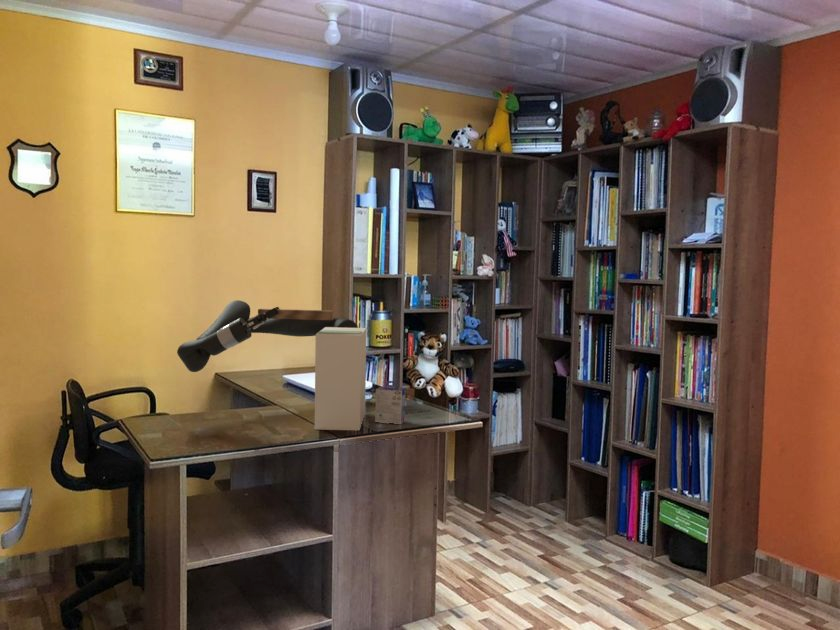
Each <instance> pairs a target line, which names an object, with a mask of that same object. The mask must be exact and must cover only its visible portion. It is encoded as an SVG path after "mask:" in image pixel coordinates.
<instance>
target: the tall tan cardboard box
mask: <svg viewBox="0 0 840 630" xmlns="http://www.w3.org/2000/svg"><path fill="white" fill-rule="evenodd" d="M314 349H315V350H314V353H315V356H314V359H315V361H314V362H315V364H314V368H315V369H314V380H315V381H314V430H320V431H321V430H322V431H323V430H324V431H325V430H327V431H360V429H361V427H362V425H361V424H363V422H362V421H364V419H365V416H364V415H366V384H367V383H366V377H367V376H366V375H367V374H366V373H367V327H358V328H339V327H325V328H324V329H322V330H321V331H319V332H318V333H317V334H316V336H315V348H314ZM363 418H364V419H363Z"/></svg>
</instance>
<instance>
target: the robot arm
mask: <svg viewBox="0 0 840 630" xmlns="http://www.w3.org/2000/svg"><path fill="white" fill-rule="evenodd" d="M270 309H271V310H269V311H268V312H265V313H263V314H260V315H258V314H257V315H255V316H252V317H251V307H250V304H249V303H247V302H246V301H243V300H240V299H239V300H238V299H237V300H233V301H230V302H229V303H227V305H226V306H225V308H224V309H223V311H222V312H221V313H220V314H219V316H218V317H217V319H216V320H214V322H213V323H212V324H210V326H209V327H208V328H207V329H206V330H205V331H204V332H203V333H202V334H201V335H199V336H198V337H197V338H196V339H193V340H190V341H187V342H183V343H182V344H181V345H179V347H178V348H177V350H176V354H177V356H178V357H179V359H180V360H181V361H182V363H183V364H184V366H185V367H186V369H187V370H188V371H189V372H191V373H198V372H200V371H201V370H203V369H204V368H205V367H206V366H207V364H208V362H209V360H210V358H211V356H217V355H219V354H221V353H223V352H225V351H227V350H228V349H231V348H233V347H235V346H237V345H239V344H241V343H242V342H245V341H246V340H248V339H250V338H251V337H252V334H270V335H271V334H272V335H279V336H280V335H281V336H287V337H316V334H317V333H318V332H319V331H321V330H322V329H324V328H325V327H339V328H359V327H358V324H357V323H356V322H355V321H354V320H352V319H349V318H347V317H340V318H339V317H337V318H336V317H335V318H334V317H333V320H306V319H269V318H270V317H272V316H274V315H276V314H278V310H277V309H280V307H279V306H276V307H273V308H270ZM268 317H269V318H268Z"/></svg>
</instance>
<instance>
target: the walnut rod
mask: <svg viewBox="0 0 840 630" xmlns="http://www.w3.org/2000/svg"><path fill="white" fill-rule="evenodd" d="M271 309H272V308H258V309H257V315H260V314H263V313H265V312H268V311H269V310H271ZM277 310H278V314H276V315H274V316H272V317H270V318H269V317H268V318H269V319H306V320H333V318H334V310H329V309H328V310H324V309H323V310H321V309H319V310H317V309H283V308H279V309H277Z"/></svg>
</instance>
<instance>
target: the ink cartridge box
mask: <svg viewBox="0 0 840 630" xmlns="http://www.w3.org/2000/svg"><path fill="white" fill-rule="evenodd" d="M393 384H394V385H393ZM397 385H398V381H396V380H387V381H386V385H385V386H379V387H376V389H375V400H374V401H375V408H374V409H375V410H374V423H375V422H381V423H380V424H389V423H394V424H393V425H402V424H404V423H405V422H406V387H397ZM404 421H405V422H404ZM403 422H404V423H403Z"/></svg>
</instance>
